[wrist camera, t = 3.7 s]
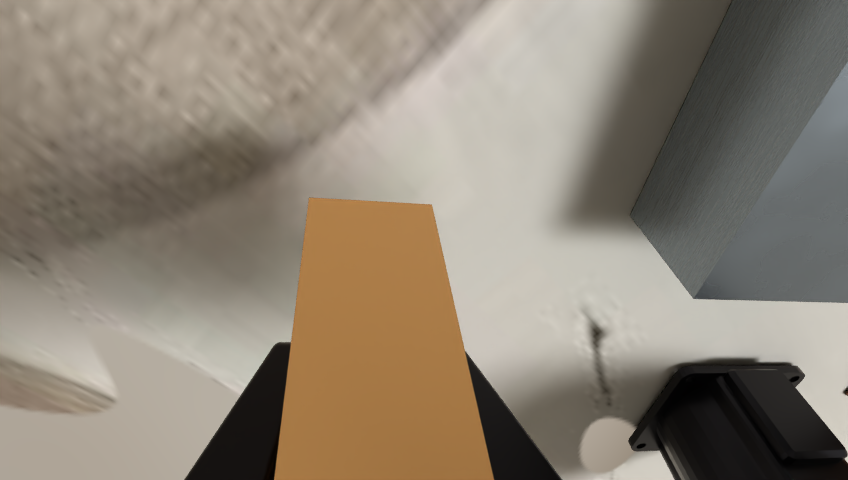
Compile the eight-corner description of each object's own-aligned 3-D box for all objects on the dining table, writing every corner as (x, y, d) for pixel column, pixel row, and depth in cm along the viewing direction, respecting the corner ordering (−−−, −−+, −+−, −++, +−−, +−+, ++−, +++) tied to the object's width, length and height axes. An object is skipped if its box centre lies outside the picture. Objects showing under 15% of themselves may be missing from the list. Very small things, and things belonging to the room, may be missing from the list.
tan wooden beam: (410, 320, 12) (487, 932, 5) (308, 318, 12) (246, 983, 5) (431, 204, 10) (602, 955, 3) (309, 197, 10) (203, 1049, 3)
